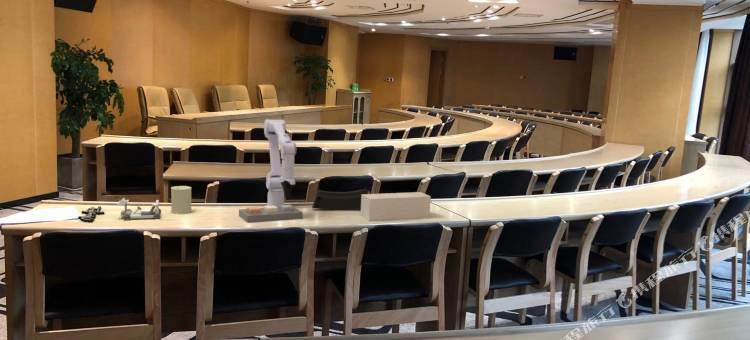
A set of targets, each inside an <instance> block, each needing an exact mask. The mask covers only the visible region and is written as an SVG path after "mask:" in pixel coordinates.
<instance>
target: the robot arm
mask: <svg viewBox="0 0 750 340" xmlns="http://www.w3.org/2000/svg"><path fill="white" fill-rule="evenodd" d="M286 123H287V122H286V120H285V119H268V118H267V119H265V120H264V122H263V131H264V132H263V133H264V138H266V139H268V146H269V159H270V168H271V170H270V172H268V173H267V174H266V177H265V178H266V181H265V185H266V188H267V190H268V192H267V204H266V205H265V206H276V207H280V205H285V198H290V197H291V194H292V191H293V189H294V186H295V185H296V180H295V156H296V154H297V144H296V142H293V141H292V140H291V137H290V136H289V134H287V133H286V128H287V124H286Z"/></svg>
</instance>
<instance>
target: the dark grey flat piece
mask: <svg viewBox="0 0 750 340" xmlns="http://www.w3.org/2000/svg"><path fill="white" fill-rule="evenodd" d="M101 210H102V206H101V205H100V206H99V205H98V206H97V207H94V206H90V207H89V208H87V209H86V210H82V211H81V215H78V217H77V219H78V220H79V219H80V220H81V221H80V220H79V221H80V222H82V221H83V222H82V223H87V222H88V223H89V224H91V223H93V222H95V219H96V218H97V215H98V216H102V215H105V211H101ZM83 215H84V216H83Z"/></svg>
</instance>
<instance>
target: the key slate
mask: <svg viewBox="0 0 750 340" xmlns="http://www.w3.org/2000/svg"><path fill="white" fill-rule="evenodd" d="M294 207H295V206H294V205H292V204H284V205H280V210H282V211H294Z"/></svg>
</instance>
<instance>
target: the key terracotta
mask: <svg viewBox="0 0 750 340" xmlns="http://www.w3.org/2000/svg"><path fill="white" fill-rule="evenodd" d="M260 208H261V207H259V206H247V207H246V209H247V212H248V213H249V214H254V213H261V209H260Z"/></svg>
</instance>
